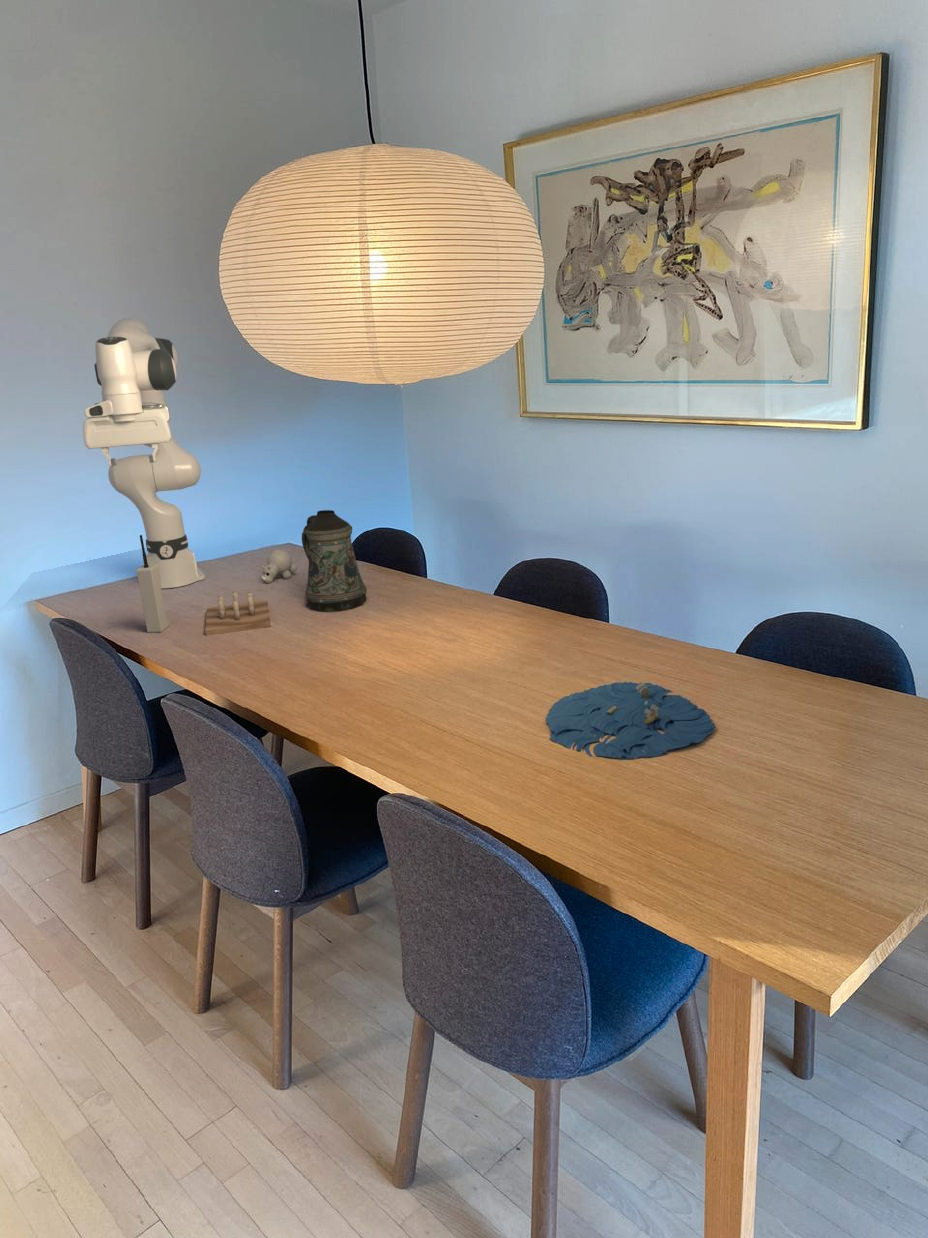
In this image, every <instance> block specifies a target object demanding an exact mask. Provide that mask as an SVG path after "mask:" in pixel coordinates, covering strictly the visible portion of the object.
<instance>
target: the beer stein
mask: <svg viewBox="0 0 928 1238" xmlns="http://www.w3.org/2000/svg"><path fill="white" fill-rule="evenodd" d="M316 513H317V514H316V515H315V514H313V515H311V516H310V515H309V516H308V518H307V520H306V525H305V526H304V528H303V530H302V533H301V543H302V548H303V551H304V552H305V553H304V554H305V555H306V557H307V559H308V571H307V572H308V574H307V585H306V590H305V593H304V596H305V601H306V603H307V607H308V608H309V610H312V611H315V612H318V613H336V612H337V613H338V612H345V611H350V610H354V609H356V608H360V607H361V606H364V604H365V603H366V602H367V601H366V600H367V598H366V597H367V596H366V595H367V590H368V589H367V586H366V585H365V583H364V582H363V579H362V576H361V574H360V570H359V567H358V563H357V558H356V554H355V550H354V546H353V543H352V539H351V538H352V536H351V535H352V534H353V526H352V525H351V524H350V523H349V522H348V521H347V520H344V519H343V518H341V517H340V516H338V515H337V514H336V513H335V510H332V509H331V510H330V509H324V510H318V511H317V512H316Z"/></svg>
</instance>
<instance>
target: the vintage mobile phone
mask: <svg viewBox="0 0 928 1238" xmlns="http://www.w3.org/2000/svg"><path fill="white" fill-rule="evenodd" d="M139 540H140V545H141V551H142V559H143V565H141V566H140V567H139V568H137V569H136V571H135V572H136V576H137V581H138V588H139V593H140V594H139V595H140V598H141V603H142V604H141V605H142V608H143V615H144V621H145V625H146V630H147V633H150V634H151V633H162V632H163V631H164V630H166V629H167V628H169V626H170V622H169V619H168V618H167V615H166V609H165V603H164V597H163V592H162V588H161V578H160V570H159V564H148V563H147V557H146V556H147V553H146V550H145V544H144V539H143V534H140V535H139Z"/></svg>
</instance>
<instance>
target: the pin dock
mask: <svg viewBox="0 0 928 1238" xmlns="http://www.w3.org/2000/svg"><path fill="white" fill-rule="evenodd" d="M238 592H239V591H232V593H231V594H232V604H230V605H228V604H227V605H226V604H225V600H224V595H218V596H217V606H214V607H213V606H212V607H208V608H207V607H206V617H205V627H204V631H205V633H204V634H205V636H210V635H216V634H217V635H218V634H224V633H234V632H242V631H248V630H249V631H250V630H257V629H265V628H270V627H272V624H271V618H270V617H271V616H270V609H269V603H268V600H262V601H261V600H260V601H255V602H254V596H253V592H252V591H249V592H247V593H246V599H247V602H245V603H244V602H243V603H240V599H239V593H238Z"/></svg>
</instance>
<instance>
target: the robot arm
mask: <svg viewBox="0 0 928 1238" xmlns="http://www.w3.org/2000/svg"><path fill="white" fill-rule="evenodd" d="M178 361H179V356H178V352H177V349H176V348H175V347H174V344H173V342H172V341H171V340H170V339H166V338H160V337H158V338H157V337H154V336H153V335H151V334H150V333H149V330H148V329H147V327H146V325H145V324H144V323H143V322H141V321H140V320H138V319H136V318H134V317H126V318H121V319H119V320H118V321H116V322H115V323H114V324H113V325H112V327H111V328H110V330H109V331H108V335H107V337H102V338H98V340H96V342H95V363H94V372H95V376H96V382H97V384H98V385H99V386H101V399H102V401H100V402H97V403H94V404H93V405H91V406H88V407H86V408H85V409H84V412H83V413H84V416H85V417H86V419H85V420H84V422H83V424H82V425H83V426H82V427H83V428H82V431H83V434H82V435H83V442H84V446H85V447H86V448H87V449H88V450H93V449H101V453H102V455H104V457H105V458H106V459H107V460H108V466H109V468H108V472H107V473H108V474H107V476H108V480H109V483H110V485H111V486H112V488H113V489H114V490H115V491H116V492H117V493H119V494H121V495H123V496H124V497H126V498H127V499H128V500H129V501H131V502H132V503H133V504H134V505H135V507H136V509H137V510H138V512H139V514H140V516H141V520H142V523H143V524H142V525H143V527H144V532H145V537H146V539H145V547H146V551H147V553H146V557H147V563H148V564H159V570H160V578H161V589H171V588H179V587H184V586H188V585H191V584H193V583H196V582H199V581H203V580H205V579H206V575H205V573H204V572H203V571H202V570H201V569H200V567H199V565H198V563H197V562H196V557H195V555H196V554H195V553H194V552H193V551H192V550H190V548H189V547H188V546H189V540H188V536H187V534H185V527H184V522H183V521H184V519H183V515H182V512H181V510H180V508H179V507H178V506H176V505H175V504H173V503H170V502H167V501H164V500H161V498H160V497H159V496H158V494H157V493H159V492H166V491H169V492H170V491H176V490H178V491H179V490H183V489H188V488H190V487H194V486H196V485H197V484H198V482H199V480H200V478H201V472H202V470H201V469H202V468H201V465H200V462H199V461H198V459H197V458H196V456H194V455H193V454H192V453H190V452H189V451H187V450H185V449H184V448H183V447H181V446H180V444H178V442H177V441H176V439H175V438H174V436H173V433H172V430H171V427H170V419H171V415H170V410H169V409H168V407H167V401H166V396H165V393H164V391H169V390H170V389H171V388H172V387H173V386H174V385H175V384H176V381H177V378H178V377H177V376H178V375H177V367H178V363H179V362H178ZM139 445H140V446H141V445H144V446H147V447H150V448H152V449H153V451H152V453H150V454H149V453H148V454H140V455H137V454H136V455H128V456H125V457H122V458H117V459H116V458H115V457H114V458H112V456H111V455H110V454H109V453H108V452H109V451H110V448H114V447H115V448H117V447H128V446H139Z"/></svg>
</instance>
